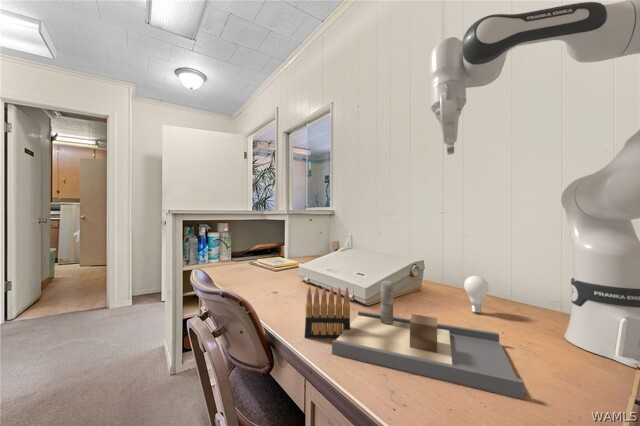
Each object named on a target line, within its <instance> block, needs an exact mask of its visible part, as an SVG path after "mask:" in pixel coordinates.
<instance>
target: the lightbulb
mask: <svg viewBox="0 0 640 426" xmlns="http://www.w3.org/2000/svg"><path fill="white" fill-rule="evenodd" d="M463 287H464V288H463V289H464V290H465V293H466V294H467V296H468V297H469V302H470V310H471V312H473V313H475V314H479V313H482V304H483V301H484V298H485V297H486V295H487V294H488V292H489V288H490V286H489V284H488V281H487V280H486V279H485V278H483V277H481V276H479V275H471V276H468V277H467V278H466V279H465V280H464V282H463Z"/></svg>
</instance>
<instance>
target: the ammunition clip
mask: <svg viewBox="0 0 640 426" xmlns="http://www.w3.org/2000/svg"><path fill="white" fill-rule="evenodd" d="M337 288H338V289H337V290H336V291H337V292H336V299H335V294H334V289H333V286H332V287H330V288H329V293H328V300H327V290H326V287H325V286H323V288H322V291H321V297H320V291H319V288H318V286H316V287H315V289H314V295H312V294H313V293H312V289H311V287H310V286H308V288H307V291H306V292H307V293H306V298H305V299H306V302H305V313H304V314H305V318H304V319H305V320H304V321H305V323H304V339H331V340H332V339H333V340H337V338H338V337H339V336H340V335H341V334H342V333H343V331H344V330H350V323H351V304H350V293H349V289H348V287H345V290H344V294H343V295H344V296H343V298H342V290H341V288H340V287H337ZM312 296H313V297H312ZM320 298H321V301H320ZM342 299H343V300H342ZM335 300H336V301H335ZM327 301H328V302H327ZM342 301H343V302H342ZM342 303H343V304H342Z"/></svg>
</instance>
